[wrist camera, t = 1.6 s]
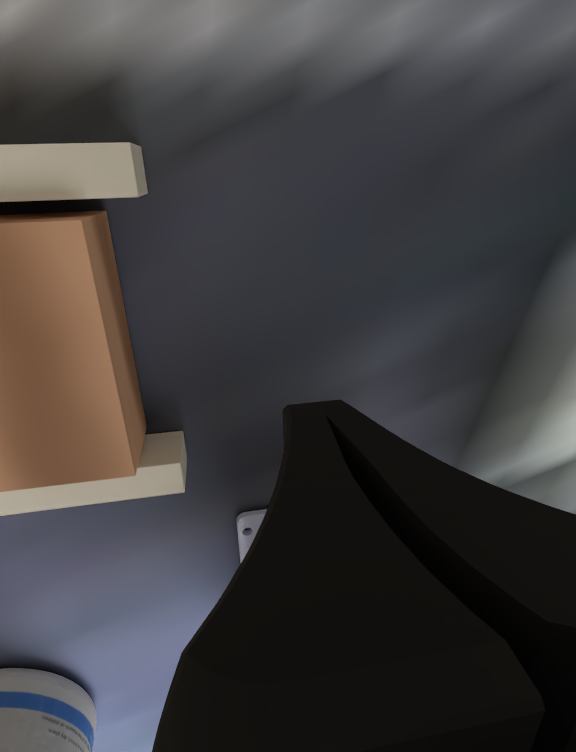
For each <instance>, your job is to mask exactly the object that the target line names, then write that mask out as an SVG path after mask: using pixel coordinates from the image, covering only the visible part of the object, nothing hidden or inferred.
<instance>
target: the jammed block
mask: <svg viewBox="0 0 576 752" xmlns="http://www.w3.org/2000/svg"><path fill="white" fill-rule="evenodd" d="M146 429H147V425H146V420H145V414H144V409H143V404H142V398H141V393H140V388H139V383H138V377H137V372H136V367H135V361H134V356H133V351H132V345H131V340H130V335H129V329H128V324H127V319H126V313H125V308H124V303H123V297H122V292H121V287H120V281H119V276H118V271H117V266H116V260H115V255H114V250H113V244H112V239H111V234H110V228H109V223H108V218H107V212H106V211H81V212H55V213H29V214H4V215H0V492H6V491H14V490H22V489H31V488H39V487H47V486H55V485H64V484H72V483H80V482H89V481H97V480H105V479H114V478H122V477H130V476H136V472H137V467H138V463H139V459H140V454H141V450H142V446H143V442H144V437H145V433H146Z"/></svg>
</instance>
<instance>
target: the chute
mask: <svg viewBox="0 0 576 752" xmlns="http://www.w3.org/2000/svg"><path fill="white" fill-rule="evenodd" d="M145 194H148V190H147V184H146V177H145V170H144V163H143V157H142V150H141V146H138V145H135V144H133V143H130V142H120V143H67V144H13V145H0V202H15V201H43V200H72V199H100V198H128V197H140V196H143V195H145ZM186 467H187V454H186V447H185V440H184V433H183V431H175V432H166V433H156V434H147V435H145V437H144V442H143V446H142V450H141V454H140V459H139V463H138V467H137V472H136V476H130V477H122V478H114V479H105V480H97V481H89V482H80V483H72V484H64V485H55V486H47V487H39V488H31V489H22V490H14V491H6V492H0V516H3V515H11V514H19V513H27V512H35V511H42V510H50V509H58V508H66V507H74V506H82V505H90V504H97V503H105V502H113V501H121V500H129V499H137V498H144V497H152V496H160V495H168V494H176V493H184V492H185V482H186Z"/></svg>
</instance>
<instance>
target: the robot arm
mask: <svg viewBox="0 0 576 752" xmlns="http://www.w3.org/2000/svg"><path fill="white" fill-rule="evenodd" d="M283 436H284V454H283V459H282V463H281V467H280V471H279V475H278V479H277V483H276V486H275V489H274V492H273V495H272V498H271V500H270V503H269V506H268V508H267V509H263V510H256V511H249V512H244V513H241V514H240V515H239V516H238V517H237V520H236V522H237V532H238V542H239V553H240V563H241V564H240V566H239V567H238V569H237V571H236V573H235V574H234V576H233V578H232V579H231V581H230V583H229V585H228V586H227V588H226V590H225V591H224V593H223V594H222V596H221V598H220V599H219V601H218V602H217V604H216V605H215V607H214V608H213V609H212V611H211V612H210V614H209V615H208V616H207V618H206V619H205V621H204V622H203V623H202V625H201V626H200V628H199V629H198V631H197V632H196V633H195V635H194V636H193V638H192V639H191V640H190V642H189V643H188V645H187V646H186V647H185V649H184V650H183V652H182V654H181V657H180V660H179V663H178V665H177V668H176V671H175V674H174V677H173V680H172V683H171V686H170V689H169V692H168V695H167V699H166V702H165V705H164V709H163V712H162V715H161V719H160V722H159V726H158V729H157V733H156V737H155V741H154V745H153V750H152V752H576V515H575V514H572V513H569V512H566V511H563V510H560V509H557V508H553V507H551V506H548V505H545V504H542V503H539V502H537V501H534V500H531V499H528V498H526V497H523V496H520V495H517V494H515V493H512V492H509V491H507V490H504V489H502V488H499V487H497V486H494V485H492V484H489V483H487V482H485V481H483V480H480V479H478V478H476V477H474V476H472V475H469V474H467V473H465V472H463V471H460V470H458V469H456V468H454V467H452V466H450V465H448V464H446V463H444V462H442V461H440V460H438V459H437V458H435V457H433V456H431V455H429V454H427V453H426V452H424V451H422V450H420V449H418V448H416V447H415V446H413V445H411V444H410V443H408V442H406V441H404V440H403V439H401V438H400V437H398V436H396V435H395V434H393V433H391V432H390V431H388V430H387V429H385V428H384V427H382V426H380V425H379V424H377V423H376V422H374V421H373V420H371V419H370V418H368V417H367V416H365V415H364V414H362V413H361V412H359V411H358V410H356V409H355V408H353V407H352V406H350V405H348V404H347V403H345V402H343V401H342V400H332V401H323V402H313V403H303V404H294V405H287V406H286V407H285V408H284V409H283ZM245 528H250V529H249V530H244V529H245Z"/></svg>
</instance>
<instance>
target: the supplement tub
mask: <svg viewBox="0 0 576 752" xmlns="http://www.w3.org/2000/svg"><path fill="white" fill-rule="evenodd" d="M96 724H97V716H96V710H95V706H94V703H93V701H92V699H91V698H90V696H89V695H88V694H87V692H86V691H85V690H84V689H83V688H81V687H80V686H79V685H78V684H76V683H74V682H73V681H71V680H69V679H67V678H65V677H62V676H60V675H57V674H54V673H51V672H47V671H42V670H35V669H26V668H3V669H0V752H92V747H93V741H94V736H95V731H96Z"/></svg>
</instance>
